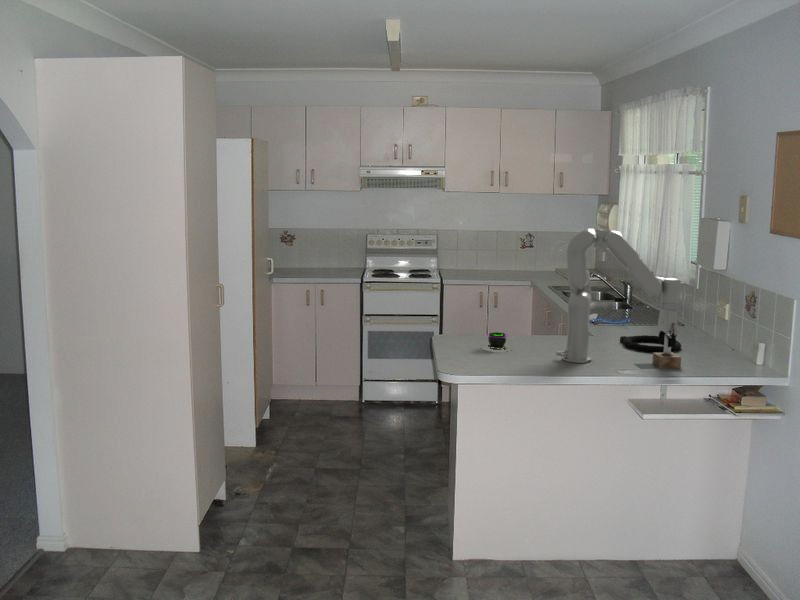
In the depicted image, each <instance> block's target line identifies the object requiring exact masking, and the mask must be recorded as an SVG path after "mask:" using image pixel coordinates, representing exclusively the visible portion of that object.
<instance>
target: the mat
mask: <svg viewBox="0 0 800 600" xmlns="http://www.w3.org/2000/svg"><path fill="white" fill-rule="evenodd" d="M633 365H634V366H635V367H637V368H639V369H640V370H649V369H650V370H651V369H653V370H654V369H656V370H658V369H662V370H663V369H664V370H665V369H667V368H659V367H657V366H656V365H654V364H652V363H633ZM680 369H683V367H682V366H681V368H680Z"/></svg>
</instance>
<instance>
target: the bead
mask: <svg viewBox="0 0 800 600" xmlns="http://www.w3.org/2000/svg"><path fill="white" fill-rule="evenodd" d="M663 354H664V352H663V353H652V360H651V361H652V364H654V365H656V366H657V367H659V368H666V369H682V368H681V367H682V366H681V364H682V356H680V355H679V354H677V353H675V352H671V356H663Z"/></svg>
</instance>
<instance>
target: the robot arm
mask: <svg viewBox="0 0 800 600" xmlns="http://www.w3.org/2000/svg"><path fill="white" fill-rule="evenodd" d="M591 248H596V249H607V251H608V252H609V253H610V254H611V255H612V256H613V257H614V258H615V259H616V260H617V262H618V263H619V264H620V265H621V266H622V267H623V268H624V269H625V271H626V272H627V273H628V274H629V275H630V276H631V277H632V279H633V280H634V281H635V282H636V284H637V285H639V286H640V288H641V289H642V290H643V291H644V292H645V293H646V294H647V295H649V296H651V297H652V296H654V297H655V296H657V295H660V294H661V298H660V299H661V300H660V310H659V311H660V312H659V316H658V323H657V328H658V336H659V339H658V341H659V342H664V338H665V334H669V338H668V347H675V343H676V341H677V335H678V332H679V329H678V321H679V320H678V317H679V315H678V312H679V310H680V309H679V308H680V298H681V289H682V288H681V287H682V286H681V285H682V282H681V279H679V278H675V277H660V276H655V274H653V272H652V271H651V270H650V269H649V268H648V266H647V265H646V263H645V262H644V260H643V258H642V257H641V255H640V254H639V253H638V252H637V251H636V250H635V249H634V247H633V246H632V245H631V244H630V243H629V242H628V241H627V240H626V238H624V235H623V234H622V233H621V232H620V231H617V230H611V229H599V228H584V229H583V230H581V231H580V232H578V233H577V234H575V235H574V236H573V237H572V238H571V239H570V241H569V243H568V245H567V250H566V264H567V265H566V266H567V283H568V285H569V290H570V297H569V298H568V303H567V331H566V332H567V333H566V334H567V335H566V337H567V338H566V348H564V350H563V351H555V354H556V356H557V357H559V356H560V357H562V359H563V361H565V362H568V363H575V364H576V363H578V364H584V363H585V364H586V363H589V362H591V361H592V358H591V357H590V356H589V355H588V354H589V353H588V351H589V335H590V334H589V332H590V311H591V308H590V307H591V303H592V286H591V285H592V284H591V275H590V272H589V270H588V265H587V253H588V252H587V251H588V250H589V249H591Z"/></svg>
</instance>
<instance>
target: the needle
mask: <svg viewBox="0 0 800 600" xmlns="http://www.w3.org/2000/svg"><path fill="white" fill-rule="evenodd" d="M668 338H669V334H668V333H666V334H665V338H664V344H663V346H664V354H663V356H671V347H668Z"/></svg>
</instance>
